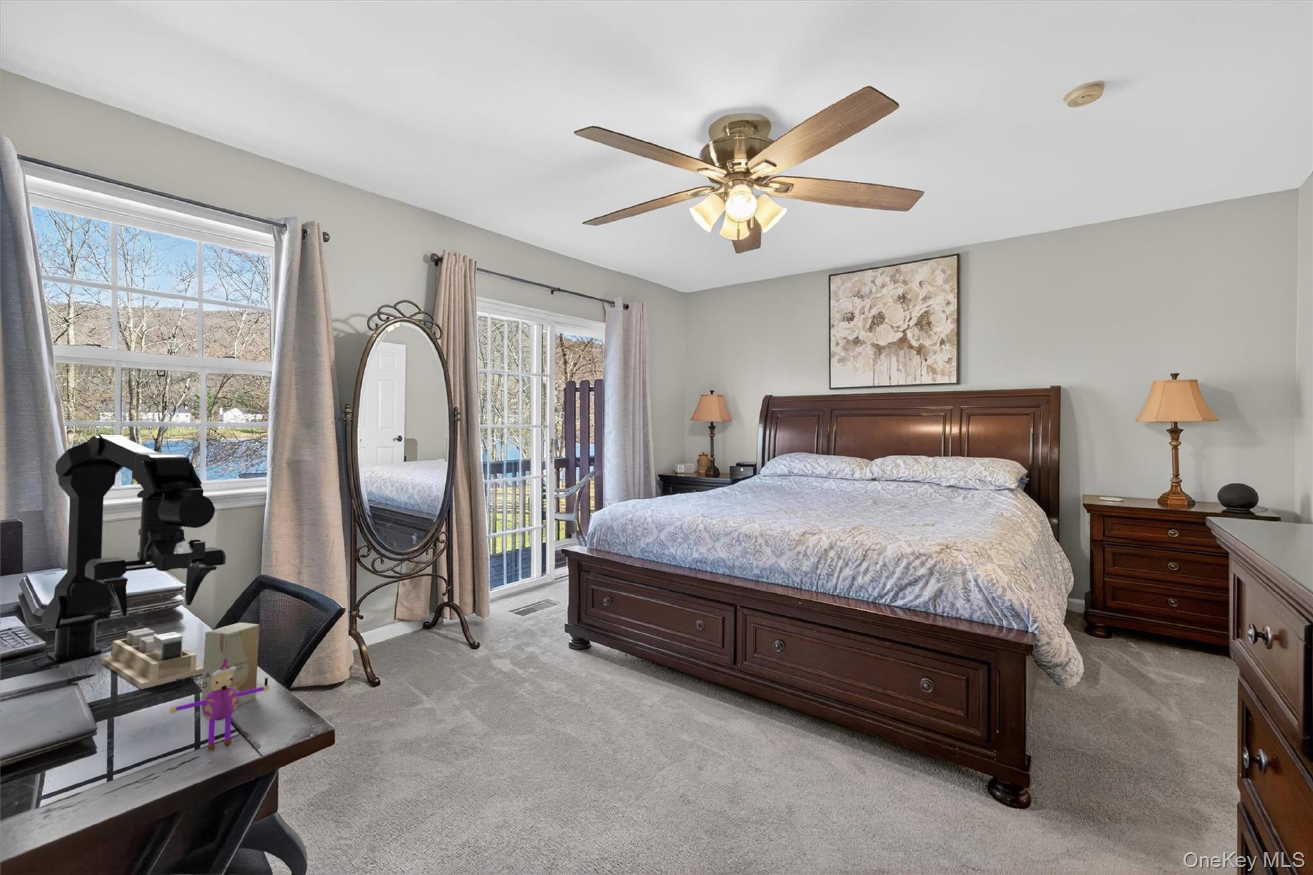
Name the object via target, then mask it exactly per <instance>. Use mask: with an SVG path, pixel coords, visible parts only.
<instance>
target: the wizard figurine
mask: <svg viewBox="0 0 1313 875" xmlns="http://www.w3.org/2000/svg"><path fill="white" fill-rule="evenodd" d="M235 670H236V667H230V665H229V663H228V662H227V660H226V658H225V660H224V662H223V664H222V666H221V668H220V670H217V671H216V672H214V673H213V674H212V677H213V678H212V680H211V687H212V689H213V691H211V692H210V693H209V694H208V695H207V696H206V698H205V699H204V700H203V701H201V700H199V701H195V702H189V703H187V704H181V705H177V706H175V705H174V706H171V707H170V708H169V709H168V710H169V713H171V714H175V713H176V712H178V711H182V710H187V709H191V708H194V707H199V706H201V705H202V710H201V711H202V714H203V716H204V717H205V718H206V719H207V720H208V735H207V737H208V740H207V750H210V751H211V750H214V749H215V748H216V743H215V730H216V729H215V727H216V724H215V723H216V722H218V721H222V720H224V741H223V744H224V745H225V746H229V745H231V744H232V742H233V740H232V739H231V736H232V735H231V732H232V731H231V728H232V714H233V713H234V712H235V711H236V710H237V707H238V706H237V705H238V701H239V698H238V697H239V696H243V695H247V694H251V693H255V692H256V693H258V692H259V693H260V692H267V691H268V690H269V689H270V686H269V684H268V682H269V681H268V680H269V676H268V675H265V676H264V685H263V686H261V687H256V688H255V689H251V690H247V691H243V692H238V693H237V692H236V691H235V690H234V689H233V688H231V687H229V686H230V684H231V681H232V680H233V678H232V677H233V674H234V671H235ZM207 675H208V676H209V677H210V675H209V673H207ZM207 675H206V677H208V676H207ZM193 677H194V676H190V677H188V678H186V677H185V678H184V679H182V678H179V679H180V680H179V679H176V681H177V685H179V682H180V683H181V684H183V682H184V683H189V682H193V681H194V678H193ZM198 677H199V678H198ZM206 677H205V678H206ZM189 679H190V680H189ZM198 680H199V681H200V680H203V674H199V675H196V681H198ZM204 683H206V682H204ZM206 686H207V683H206ZM206 686H205V687H206ZM205 687H203V683H202V682H200V683H199V682H198V683H197V686H196V685H195V684H193V685H191V684H190V685H187V686H182V688H181V687H179V688H175V690H176V693H177V694H179V692H180V693H183V691H184V692H185V693H186V692H191V691H193V690H194V689H195V690H198V689H199V688H200V689H202V688H205ZM186 688H187V689H186ZM190 688H191V689H190Z"/></svg>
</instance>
